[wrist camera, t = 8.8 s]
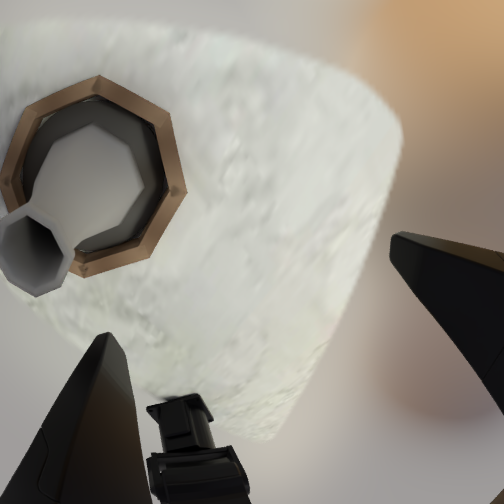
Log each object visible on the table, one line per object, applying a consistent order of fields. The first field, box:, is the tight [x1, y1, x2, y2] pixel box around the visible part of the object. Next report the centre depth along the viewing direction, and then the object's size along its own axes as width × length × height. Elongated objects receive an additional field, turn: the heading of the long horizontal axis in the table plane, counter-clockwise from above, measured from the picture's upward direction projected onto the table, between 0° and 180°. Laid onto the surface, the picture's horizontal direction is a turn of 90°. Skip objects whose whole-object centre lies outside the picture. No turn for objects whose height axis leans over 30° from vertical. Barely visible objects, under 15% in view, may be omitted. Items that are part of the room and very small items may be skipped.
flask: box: [0, 122, 145, 297], centre depth 11 cm, size 7×7×10 cm
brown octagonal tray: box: [0, 75, 188, 278], centre depth 15 cm, size 12×12×2 cm
